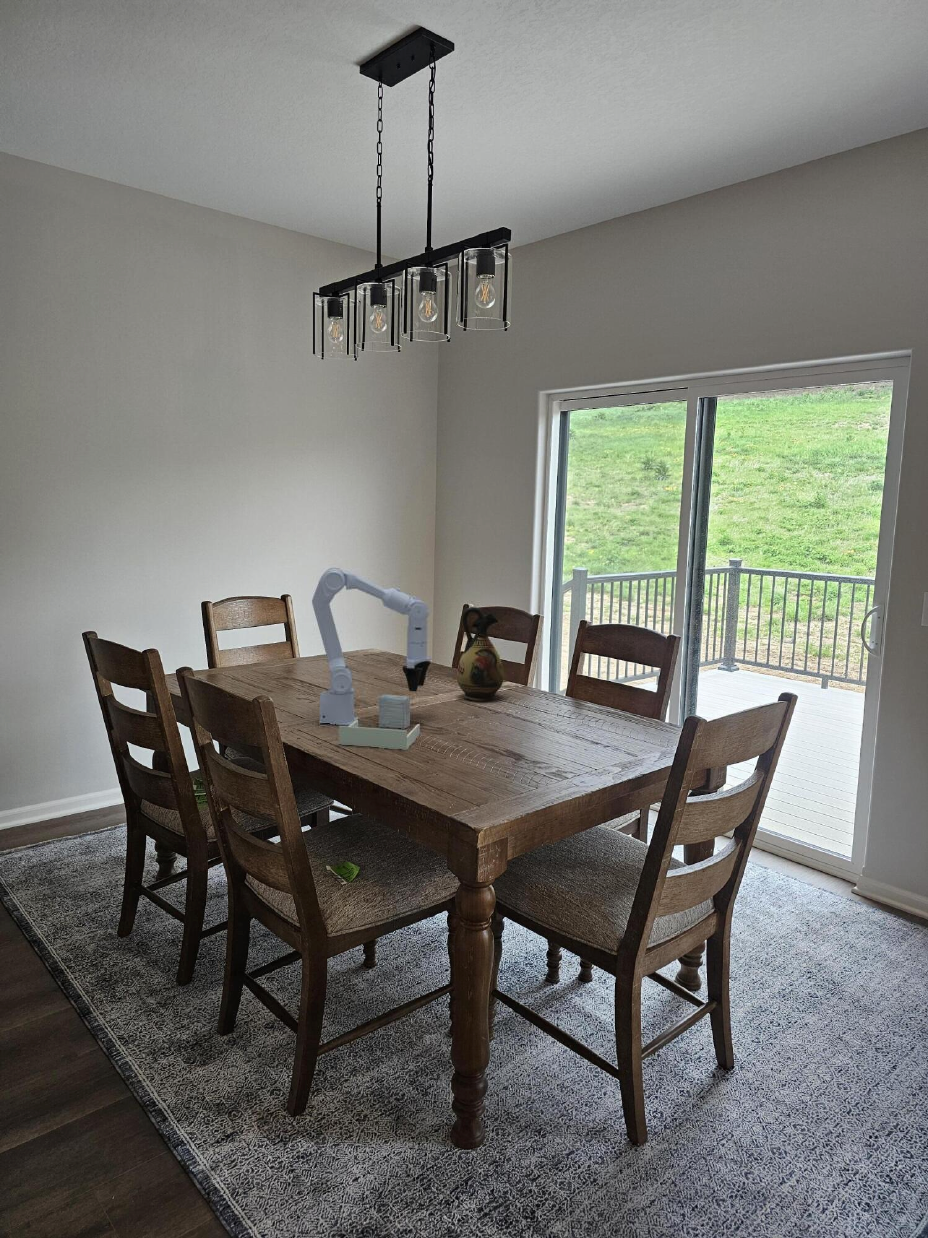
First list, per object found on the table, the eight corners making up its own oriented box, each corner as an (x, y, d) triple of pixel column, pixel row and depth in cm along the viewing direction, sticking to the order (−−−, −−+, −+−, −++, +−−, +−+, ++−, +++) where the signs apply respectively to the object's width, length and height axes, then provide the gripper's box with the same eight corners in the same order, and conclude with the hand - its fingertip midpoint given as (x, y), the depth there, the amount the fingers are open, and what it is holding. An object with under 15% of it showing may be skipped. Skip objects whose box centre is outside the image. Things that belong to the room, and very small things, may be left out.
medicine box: (410, 725, 231) (410, 696, 230) (404, 729, 227) (405, 699, 226) (384, 723, 233) (384, 693, 232) (378, 727, 229) (378, 697, 228)
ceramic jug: (504, 694, 274) (506, 605, 270) (502, 704, 258) (504, 611, 255) (454, 692, 275) (455, 604, 271) (448, 702, 260) (450, 609, 256)
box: (338, 745, 210) (338, 726, 210) (356, 730, 225) (356, 713, 224) (406, 750, 207) (406, 731, 207) (419, 735, 221) (419, 717, 221)
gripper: (424, 646, 226) (423, 694, 228) (436, 639, 240) (435, 684, 242) (400, 645, 227) (399, 692, 229) (413, 637, 241) (412, 682, 243)
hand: (416, 688), depth 236 cm, fingers open, 7 cm apart
